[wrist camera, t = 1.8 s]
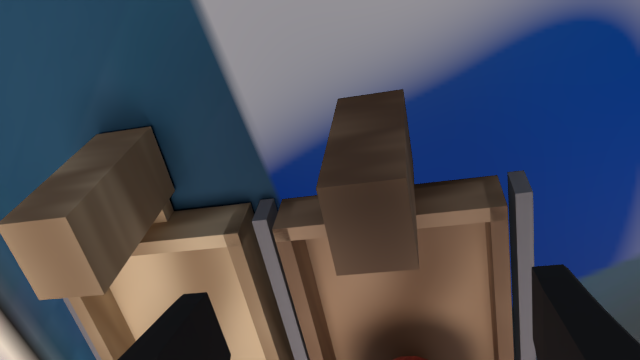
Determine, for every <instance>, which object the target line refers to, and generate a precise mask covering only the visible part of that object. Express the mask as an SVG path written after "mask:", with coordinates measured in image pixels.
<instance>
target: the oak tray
mask: <svg viewBox="0 0 640 360" xmlns="http://www.w3.org/2000/svg"><path fill="white" fill-rule="evenodd" d="M174 191H175V189H174V187H173V184H172V181H171V179H170V176H169V173H168V171H167V168H166V166H165V163H164V160H163V158H162V155H161V152H160V150H159V147H158V144H157V142H156V139H155V136H154V134H153V131H152V129H151V126H150V127H144V128H137V129H130V130H123V131H116V132H109V133H103V134H97V135H96V136H95V137H93V138H92V139H91V140H90V141H89V142H88V143H87V144H86V145H84V146H83V147H82V148H81V149H80V150H79V151H78V152H77V153H76V154H74V155H73V156H72V157H71V158H70V159H69V160H68V161H67V162H66V163H64V164H63V165H62V166H61V167H60V168H59V169H58V170H57V171H56V172H54V173H53V174H52V175H51V176H50V177H49V178H48V179H47V180H46V181H44V182H43V183H42V184H41V185H40V186H39V187H38V188H37V189H36V190H34V191H33V192H32V193H31V194H30V195H29V196H28V197H27V198H26V199H24V200H23V201H22V202H21V203H20V204H19V205H18V206H17V207H16V208H14V209H13V210H12V211H11V212H10V213H9V214H8V215H7V216H6V217H4V218H3V219H2V220H1V221H0V233H1V235H2V236H3V238H4V240H5V242H6V243H7V245H8V247H9V248H10V250H11V252H12V254H13V255H14V257H15V259H16V261H17V262H18V264H19V266H20V267H21V269H22V271H23V273H24V274H25V276H26V278H27V279H28V281H29V283H30V285H31V286H32V288H33V290H34V292H35V293H36V295H37V297H38V298H39V300H45V299H58V298H68V299H69V301H70V303H71V304H72V306H73V308H74V310H75V312H76V314H77V315H78V317H79V319H80V321H81V323H82V325H83V326H84V328H85V330H86V332H87V334H88V336H89V337H90V339H91V341H92V343H93V345H94V346H95V348H96V350H97V352H98V354H99V356H100V357H101V359H102V360H118V359H119V358H120V357H121V356H122V355H123V354H124V353H125V352H126V351H127V350H128V349H129V348H130V347H131V346H132V345H133V344H134V343H135V341H136V340H137V339H138V338H139V337H140V336H141V335H142V334H143V333H144V332H145V331H146V330H147V329H148V328H149V327H150V326H151V325H152V324H153V323H154V322H155V321H156V320H157V319H158V318H159V317H160V316H161V315H162V314H163V313H164V312H165V311H166V310H167V309H168V308H169V307H170V306H171V305H172V304H173V303H174V302H175V301H176V300H177V299H178V298H179V297H180V296H182V295H183V294H190V293H202V292H207V293H208V296H209V298H210V301H211V304H212V306H213V309H214V311H215V314H216V317H217V319H218V322H219V324H220V327H221V330H222V332H223V335H224V337H225V340H226V343H227V345H228V348H229V350H230V353H231V359H230V360H295V359H294V356H293V353H292V350H291V346H290V343H289V340H288V337H287V333H286V330H285V327H284V324H283V321H282V317H281V314H280V311H279V308H278V304H277V301H276V298H275V295H274V292H273V288H272V285H271V282H270V279H269V275H268V272H267V269H266V266H265V263H264V259H263V256H262V253H261V250H260V246H259V243H258V240H257V237H256V234H255V230H254V227H253V224H252V219H253V217H254V213H253V209H252V206H251V203H245V204H236V205H227V206H218V207H209V208H200V209H191V210H182V211H174V210H173V208H172V205H171V202H170V200H169V199H170V197H171V196H172V194H173V193H174Z"/></svg>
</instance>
